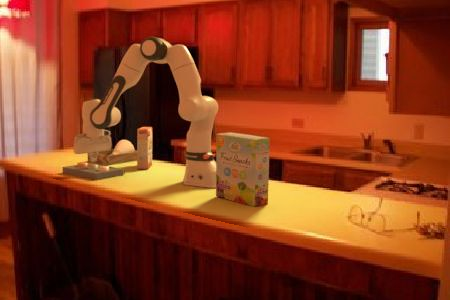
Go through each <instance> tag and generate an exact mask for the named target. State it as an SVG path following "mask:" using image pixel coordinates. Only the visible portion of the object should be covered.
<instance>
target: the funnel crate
mask: <svg viewBox="0 0 450 300" xmlns="http://www.w3.org/2000/svg"><path fill="white" fill-rule="evenodd" d="M114 149H115V148H114ZM114 149H113V148H112V149H110V150H106V151H99V154H98V156H97V161H93V162H90V158H89V156H88V155H87V163H93V164H98V165H104V166H113V165H119V164H124V163H130V162H137V149H134V150H135V151H134V152H131V153H124V154H117V155H110V154H112V152H113V151H114ZM109 155H110V156H109ZM92 157H94V152H93V155H92Z"/></svg>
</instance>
